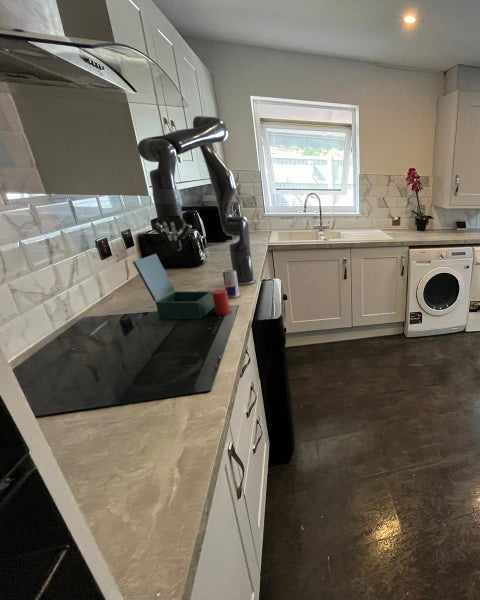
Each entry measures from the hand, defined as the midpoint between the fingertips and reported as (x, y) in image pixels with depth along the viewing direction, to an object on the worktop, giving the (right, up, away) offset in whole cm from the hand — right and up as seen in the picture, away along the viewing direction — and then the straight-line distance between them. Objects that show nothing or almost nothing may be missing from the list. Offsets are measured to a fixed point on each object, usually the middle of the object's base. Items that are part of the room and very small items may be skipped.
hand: (177, 250), depth 119 cm
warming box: (-2, -23, +9) cm, 25 cm away
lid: (-10, -10, +3) cm, 14 cm away
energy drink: (+6, -17, +28) cm, 33 cm away
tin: (+11, -23, +10) cm, 28 cm away
